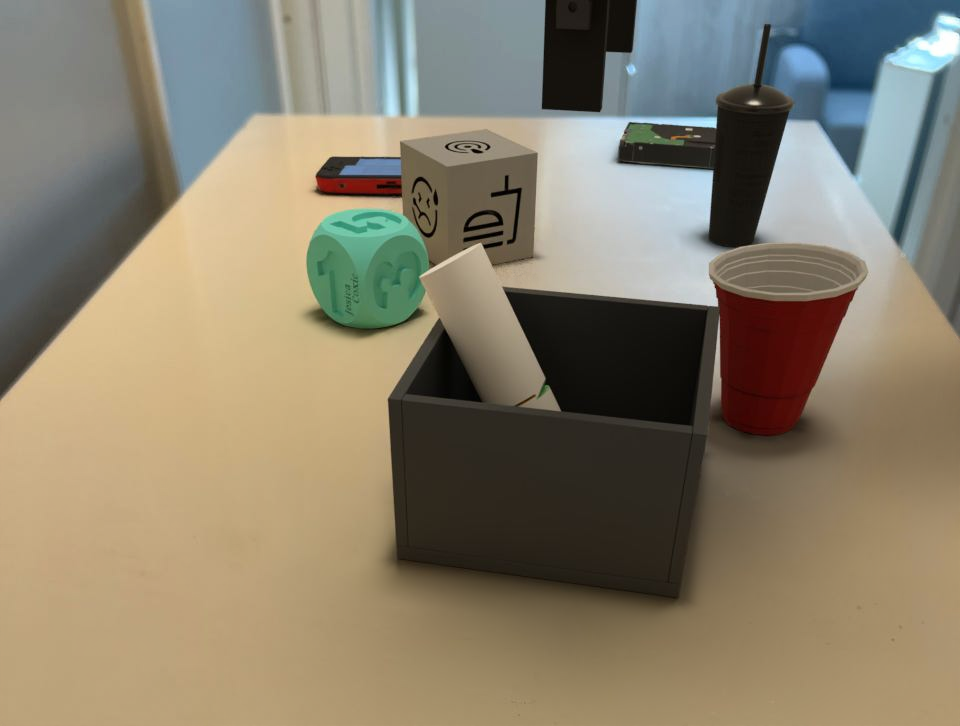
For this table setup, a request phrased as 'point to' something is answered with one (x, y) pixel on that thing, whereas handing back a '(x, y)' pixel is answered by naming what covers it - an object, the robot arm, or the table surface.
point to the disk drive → (668, 145)
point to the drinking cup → (745, 154)
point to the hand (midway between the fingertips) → (591, 78)
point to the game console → (360, 175)
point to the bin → (561, 446)
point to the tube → (486, 331)
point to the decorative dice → (367, 267)
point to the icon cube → (470, 194)
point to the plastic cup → (778, 327)
